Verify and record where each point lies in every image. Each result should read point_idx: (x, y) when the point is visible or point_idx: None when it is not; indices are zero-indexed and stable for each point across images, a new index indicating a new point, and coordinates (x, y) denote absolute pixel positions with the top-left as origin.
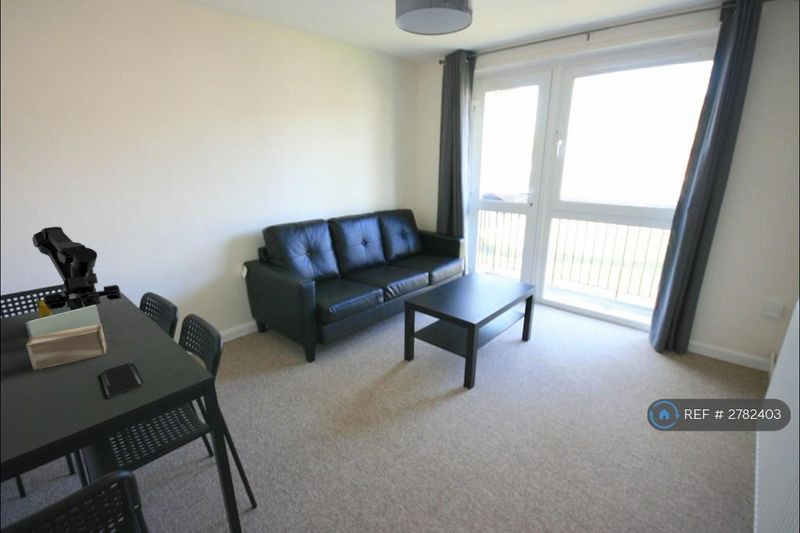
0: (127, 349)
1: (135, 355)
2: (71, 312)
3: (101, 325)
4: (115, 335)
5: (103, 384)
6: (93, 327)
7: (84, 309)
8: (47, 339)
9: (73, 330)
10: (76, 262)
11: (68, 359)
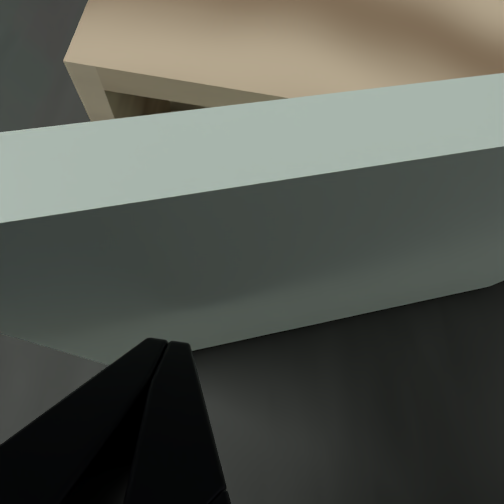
0: (47, 93)
1: (42, 8)
2: (395, 98)
3: (71, 75)
4: (25, 383)
5: None
6: (149, 16)
7: (133, 134)
8: (498, 12)
9: (319, 63)
10: None
11: None
